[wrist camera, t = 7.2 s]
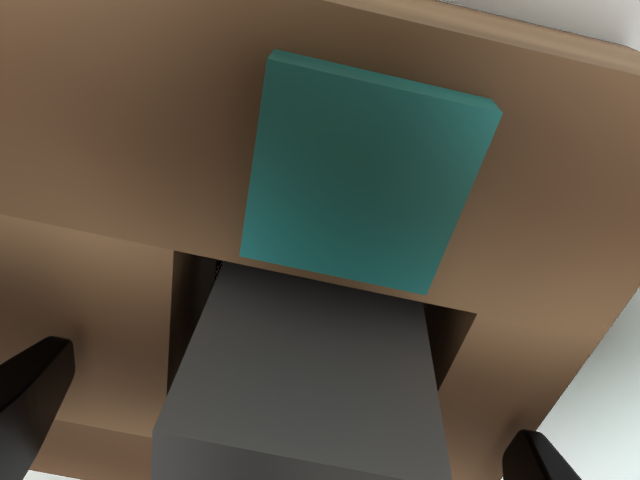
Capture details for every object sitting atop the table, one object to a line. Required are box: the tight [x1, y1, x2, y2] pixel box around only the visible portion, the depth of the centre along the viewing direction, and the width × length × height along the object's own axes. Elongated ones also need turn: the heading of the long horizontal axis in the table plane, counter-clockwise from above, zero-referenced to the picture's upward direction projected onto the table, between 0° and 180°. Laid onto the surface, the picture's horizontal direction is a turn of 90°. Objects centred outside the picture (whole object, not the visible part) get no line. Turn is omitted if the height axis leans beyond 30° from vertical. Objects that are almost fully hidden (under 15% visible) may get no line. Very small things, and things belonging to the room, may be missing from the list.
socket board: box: [0, 0, 640, 480], centre depth 11 cm, size 12×18×5 cm, turn 78°
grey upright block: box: [151, 261, 452, 480], centre depth 10 cm, size 4×4×7 cm
